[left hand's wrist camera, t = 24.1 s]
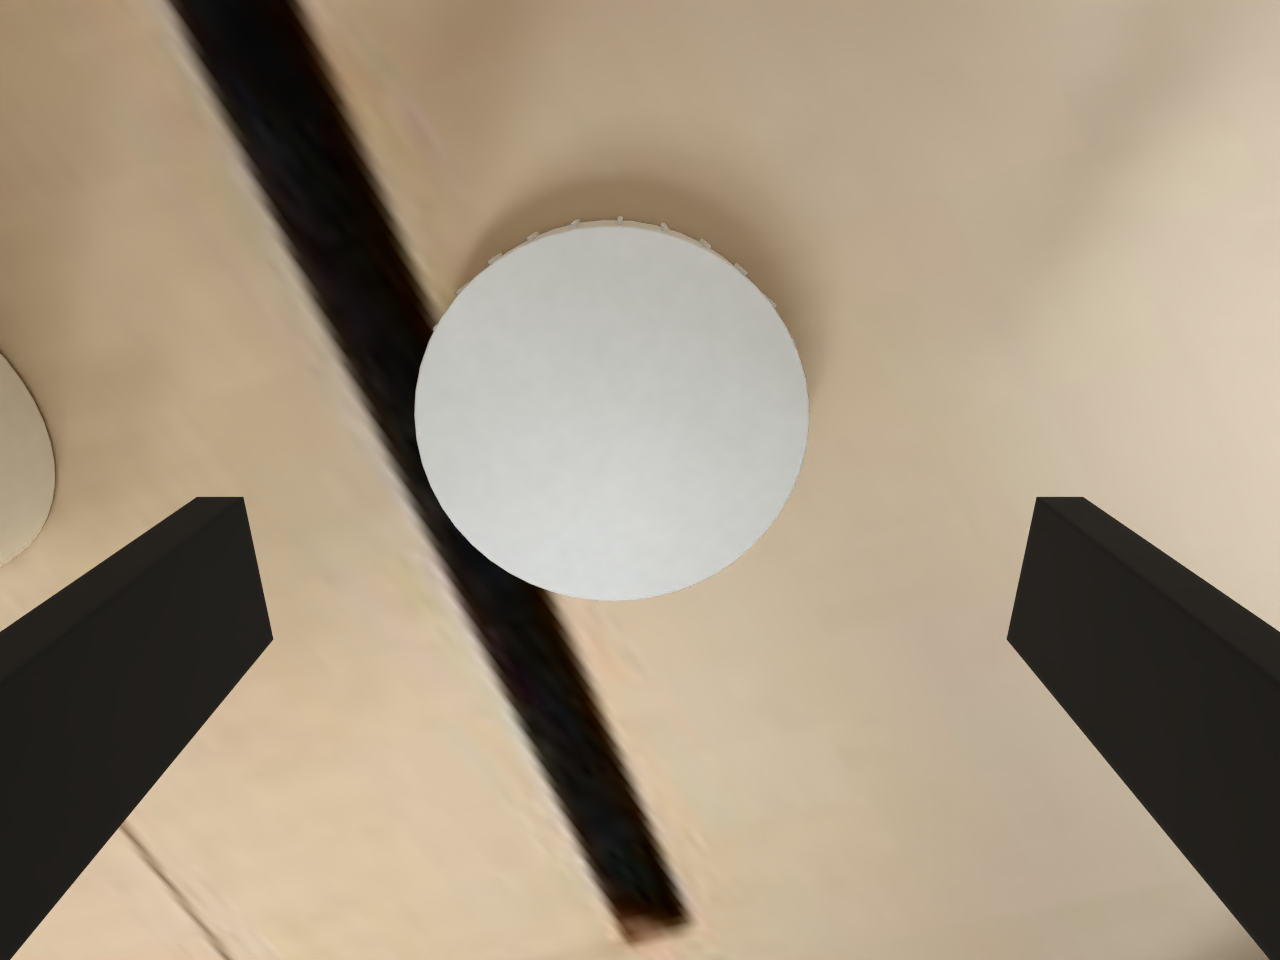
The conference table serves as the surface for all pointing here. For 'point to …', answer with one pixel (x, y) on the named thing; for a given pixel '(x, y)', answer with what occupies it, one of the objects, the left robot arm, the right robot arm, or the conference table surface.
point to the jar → (22, 466)
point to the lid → (612, 411)
